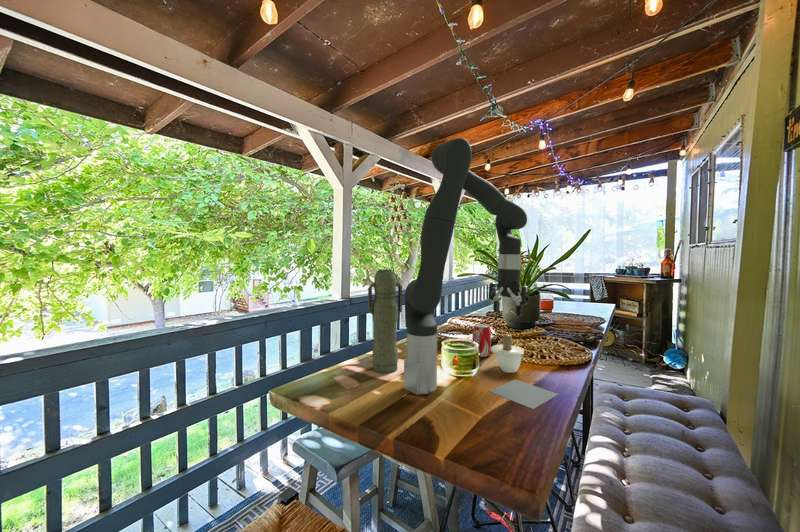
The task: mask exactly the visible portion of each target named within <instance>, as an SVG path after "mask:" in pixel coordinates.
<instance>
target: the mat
mask: <svg viewBox="0 0 800 532" xmlns="http://www.w3.org/2000/svg"><path fill="white" fill-rule="evenodd" d="M488 392H489V393H491V394H494V395H497V396H499V397H501V398H504V399H507V400H509V401H512V402H514V403H517V404H520V405H522V406H524V407H527V408H529V409H532V410H534V409H536V408H537V407H539V406H541V405H543V404H545V403H546V402H548V401H550V400H551V399H554V398H556V396H559V393H556V392H553V391H550V390H547V389H545V388H541V387H539V386H535V385H533V384H530V383H527V382H524V381H521V380H519V379H512V380H511V381H510V380H509V382H505V383H504V384H502V385H499V386H496V387H495V388H493V389H491V390H488Z"/></svg>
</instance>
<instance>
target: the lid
mask: <svg viewBox="0 0 800 532" xmlns="http://www.w3.org/2000/svg"><path fill="white" fill-rule="evenodd" d="M512 344H513V335H512V334H510V333H503V334H502V344H495V345H492V346H491V351H490V353H493V354H494V355H496V354H497V355H501V356H507V357H517V356H521V357H522V356H523V355H524V353H525V350H524V349H523V348H521V347H520V346H519V347H518V346H515V345H512Z"/></svg>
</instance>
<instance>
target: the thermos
mask: <svg viewBox="0 0 800 532" xmlns="http://www.w3.org/2000/svg"><path fill="white" fill-rule="evenodd" d="M373 287H374V288H373ZM397 288H398V295H397V296H398V298H397V296H396V293H397ZM373 289H374V291H373ZM373 292H374V297H373V295H372V294H373ZM367 296H368V297H367V302H368V303H367V305H368V306H367V307H368V308H367V311H368V312H369V313H370V314H371V316H372V321H373V349H372V364H373V365H372V370H373V372H375V373H378V374H392V373H395V372H397V371H398V362H399V350H398V347H397V322H398V319H399V314H400V313H402V310H403V286H402V285H401V283H399V282H397V277H396V275H395V271H394V270H392V269H378V270H377V271H376V272H375V275H374V279H373V283H371V284H370V285H369V286H368V289H367ZM372 297H373V298H372ZM373 299H374V300H373ZM397 299H398V302H397ZM372 301H373V302H372Z"/></svg>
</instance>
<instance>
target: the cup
mask: <svg viewBox="0 0 800 532" xmlns="http://www.w3.org/2000/svg"><path fill="white" fill-rule="evenodd" d="M495 358H496V361H497V363H498V366H499V368H500V370H501V371H503V372H504V373H508V374H509V373H511V374H512V373H513V374H515V373H517V371H518V370H519V368H520V366H521V362H522V356H517V357H507V356H501V355H497V354H495Z"/></svg>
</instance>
